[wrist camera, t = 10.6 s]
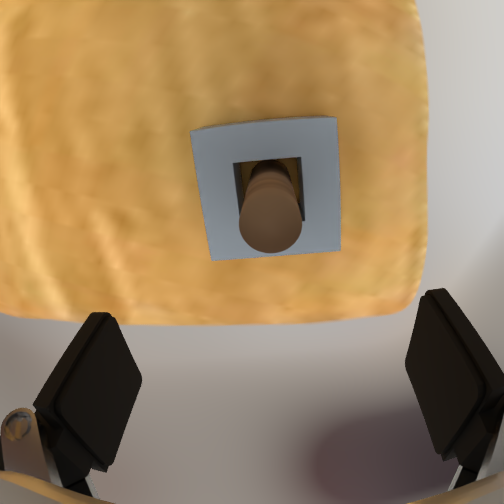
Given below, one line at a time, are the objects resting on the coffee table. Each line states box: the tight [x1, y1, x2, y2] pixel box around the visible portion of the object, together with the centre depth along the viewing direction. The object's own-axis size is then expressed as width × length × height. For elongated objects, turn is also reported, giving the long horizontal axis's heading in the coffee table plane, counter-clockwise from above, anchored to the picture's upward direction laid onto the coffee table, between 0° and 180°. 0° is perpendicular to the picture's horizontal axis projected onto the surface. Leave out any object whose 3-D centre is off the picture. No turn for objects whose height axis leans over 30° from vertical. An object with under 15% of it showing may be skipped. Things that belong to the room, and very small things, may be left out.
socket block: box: [190, 116, 341, 261], centre depth 26 cm, size 11×11×5 cm
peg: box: [239, 159, 302, 253], centre depth 23 cm, size 4×4×12 cm
